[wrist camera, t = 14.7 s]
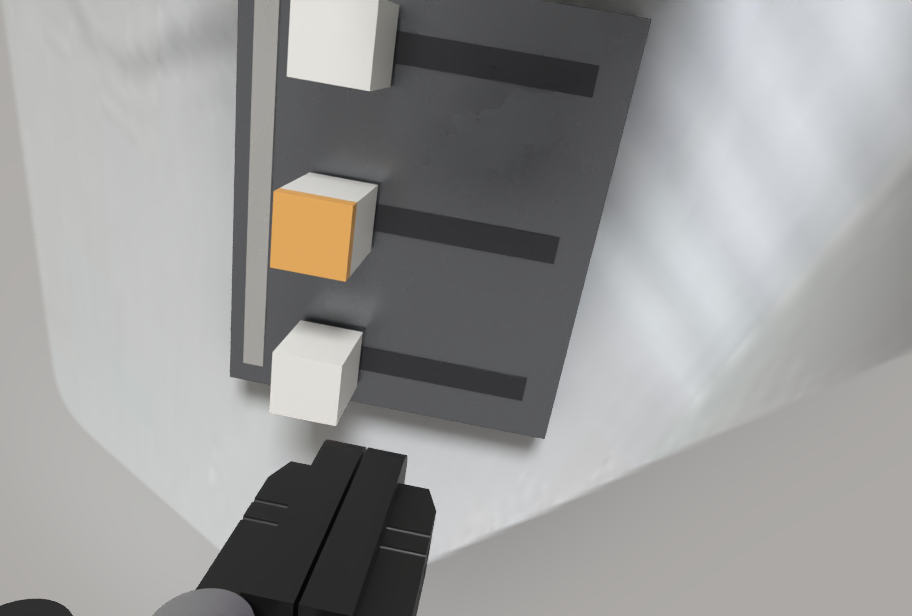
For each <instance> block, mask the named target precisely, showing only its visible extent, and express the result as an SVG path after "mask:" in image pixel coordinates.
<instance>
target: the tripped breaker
mask: <svg viewBox="0 0 912 616" xmlns="http://www.w3.org/2000/svg"><path fill="white" fill-rule="evenodd" d="M377 190H378V185H376V184H371V183H365V182H360V181H354V180H349V179H343V178H338V177H332V176H327V175H322V174H316V173H311V172H309V173H307V174H306V175H304V176H302V177H300V178H298V179H296V180H294V181H292V182H290V183H288V184H286V185H284V186H282V187H281V188H279V189H277V190H275V191H274V192H273V214H272V235H271V256H270V267H271V268H276V269H281V270H286V271H292V272H297V273H302V274H307V275H313V276H318V277H323V278H328V279H334V280H339V281H344V282H346V281H347V280H348V278H349V277H350V276H351V275H352V273H353V272H354V271H355V270H356V269H357V267H358V266H359V265H360V264H361V263H362V261H363V260H364V259H365V258H366V256H367V255H368V254H369V253H370V252H371V244H372V235H373V226H374V217H375V208H376V199H377Z"/></svg>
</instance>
